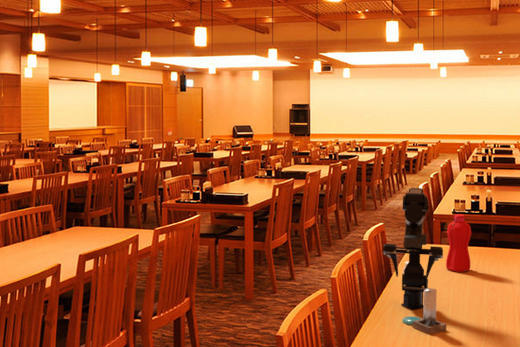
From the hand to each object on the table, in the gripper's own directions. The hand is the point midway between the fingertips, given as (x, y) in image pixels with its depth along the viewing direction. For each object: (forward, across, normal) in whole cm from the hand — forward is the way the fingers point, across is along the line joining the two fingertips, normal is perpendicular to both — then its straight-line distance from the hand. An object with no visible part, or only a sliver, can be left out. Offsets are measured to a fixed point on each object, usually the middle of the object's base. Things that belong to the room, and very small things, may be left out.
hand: (411, 277), depth 208 cm
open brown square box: (+15, +6, +10) cm, 19 cm away
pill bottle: (-6, -3, +61) cm, 62 cm away
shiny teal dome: (+13, +1, +15) cm, 20 cm away
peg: (+15, +6, +10) cm, 19 cm away
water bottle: (-17, +16, +88) cm, 91 cm away
